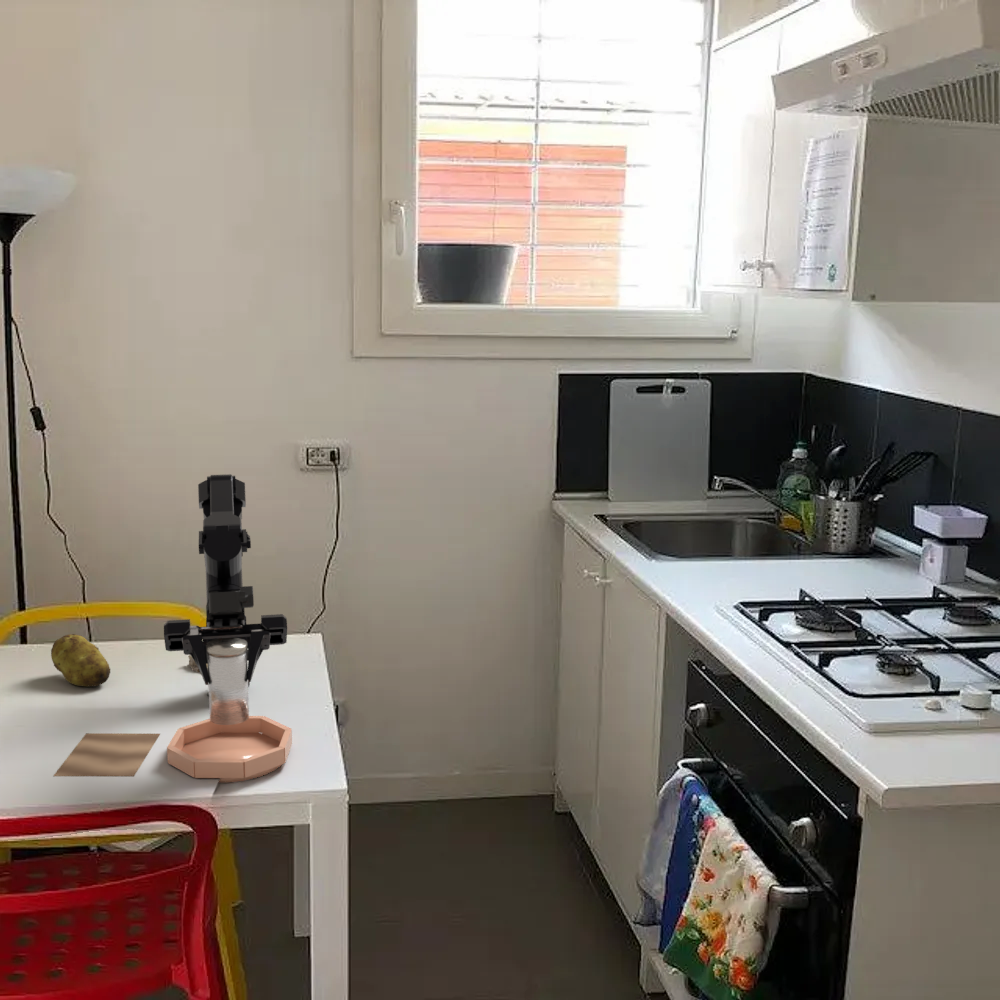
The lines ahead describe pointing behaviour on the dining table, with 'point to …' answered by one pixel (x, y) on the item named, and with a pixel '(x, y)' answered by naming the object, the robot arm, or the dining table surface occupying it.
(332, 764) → the dining table surface
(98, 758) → the walnut board
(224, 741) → the terracotta bowl
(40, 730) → the dining table surface
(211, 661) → the polished metal canister
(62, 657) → the potato
